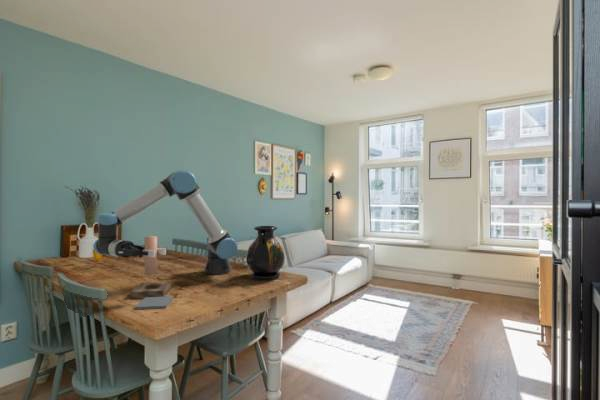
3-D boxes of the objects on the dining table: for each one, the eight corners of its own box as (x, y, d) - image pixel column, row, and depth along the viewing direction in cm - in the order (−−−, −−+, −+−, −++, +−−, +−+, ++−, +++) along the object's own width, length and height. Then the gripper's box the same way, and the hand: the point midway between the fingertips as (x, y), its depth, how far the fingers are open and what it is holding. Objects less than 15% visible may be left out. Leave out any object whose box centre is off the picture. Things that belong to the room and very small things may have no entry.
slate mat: (173, 298, 140) (173, 296, 140) (166, 308, 128) (166, 305, 128) (145, 299, 138) (145, 297, 138) (134, 309, 127) (134, 307, 127)
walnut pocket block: (171, 288, 155) (171, 282, 155) (163, 297, 141) (163, 290, 141) (141, 289, 153) (141, 283, 153) (130, 298, 140) (130, 291, 139)
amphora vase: (279, 283, 165) (279, 229, 164) (240, 281, 168) (240, 228, 168) (288, 273, 186) (288, 225, 185) (253, 271, 190) (253, 224, 189)
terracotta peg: (158, 272, 140) (158, 236, 140) (155, 275, 135) (155, 237, 135) (147, 272, 139) (147, 236, 139) (142, 275, 134) (142, 237, 134)
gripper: (139, 253, 152) (176, 257, 143) (103, 260, 136) (142, 265, 127) (139, 238, 152) (176, 241, 143) (103, 243, 136) (141, 247, 126)
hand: (160, 252), depth 135 cm, fingers closed on terracotta peg, 5 cm apart
